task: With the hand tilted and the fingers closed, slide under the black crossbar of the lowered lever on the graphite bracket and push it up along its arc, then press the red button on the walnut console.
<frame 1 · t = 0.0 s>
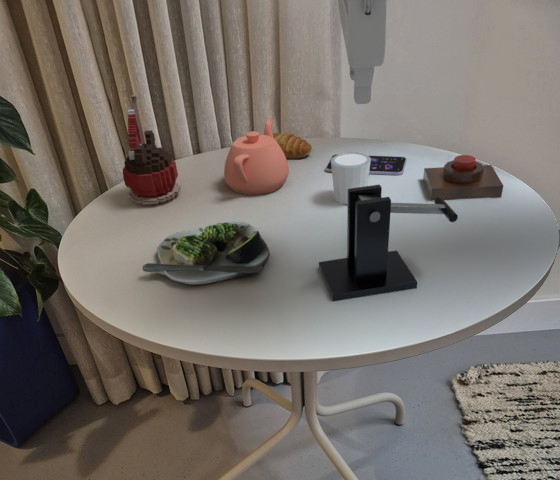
hand: (359, 89, 68), 25 cm above the table, tool pointing down, fingers open, 8 cm apart
white cup: (350, 198, 103), on the table
console: (460, 188, 103), on the table
button: (464, 163, 100), point 4 cm above the table, slide at 0.1 cm
salad plate: (217, 260, 90), on the table
pastry: (288, 154, 121), on the table
teapot: (259, 182, 111), on the table
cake: (156, 197, 109), on the table
smartphone: (366, 166, 113), on the table
lever: (404, 208, 77), point 10 cm above the table, hinge at -10.0°
bracket: (366, 278, 83), on the table
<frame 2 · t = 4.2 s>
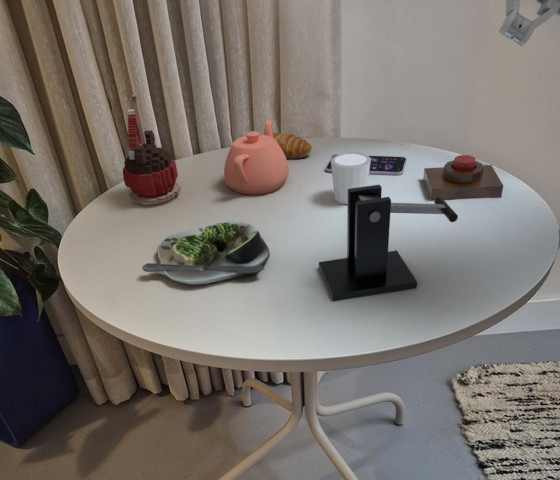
hand: (512, 37, 59), 30 cm above the table, tool tilted 40°, fingers closed
nothing on the table moved.
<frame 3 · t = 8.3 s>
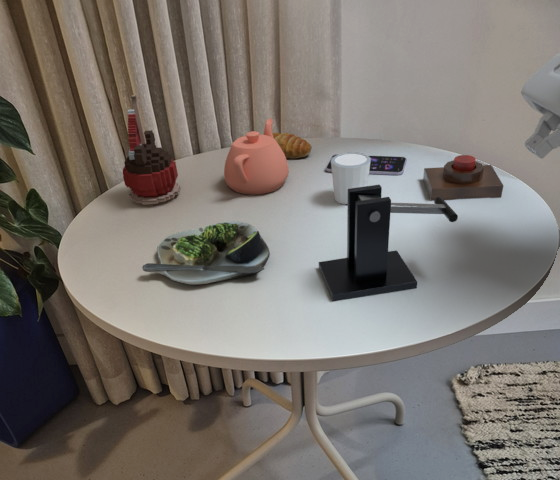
hand: (532, 151, 74), 15 cm above the table, tool tilted 45°, fingers closed
nothing on the table moved.
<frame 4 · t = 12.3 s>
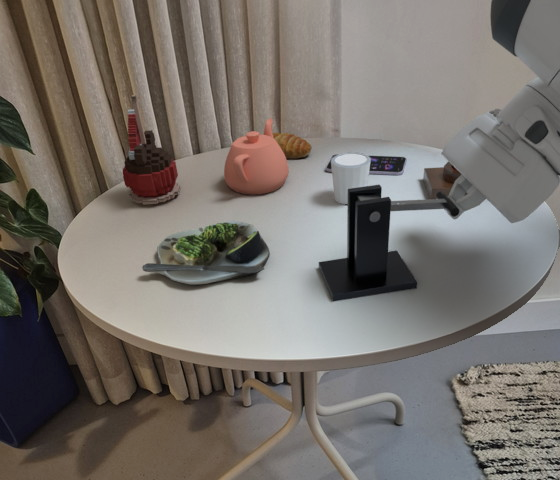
hand: (447, 212, 79), 8 cm above the table, tool tilted 45°, fingers closed, pressing on lever
lever: (405, 205, 76), point 10 cm above the table, hinge at -5.8°, touching gripper
everything else where it was.
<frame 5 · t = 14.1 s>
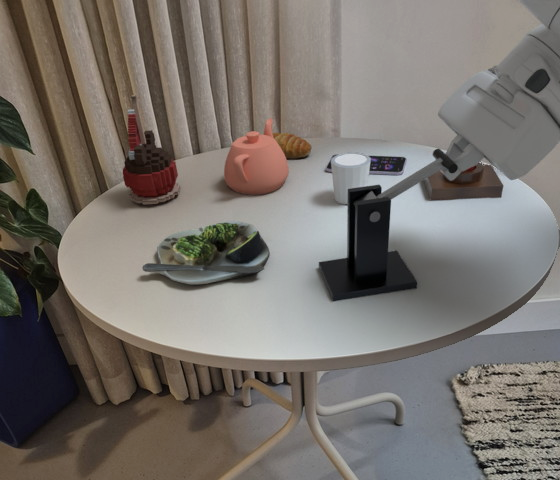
hand: (443, 173, 75), 14 cm above the table, tool tilted 45°, fingers closed, pressing on lever
lever: (403, 186, 74), point 13 cm above the table, hinge at 26.1°, touching gripper
everything else where it was.
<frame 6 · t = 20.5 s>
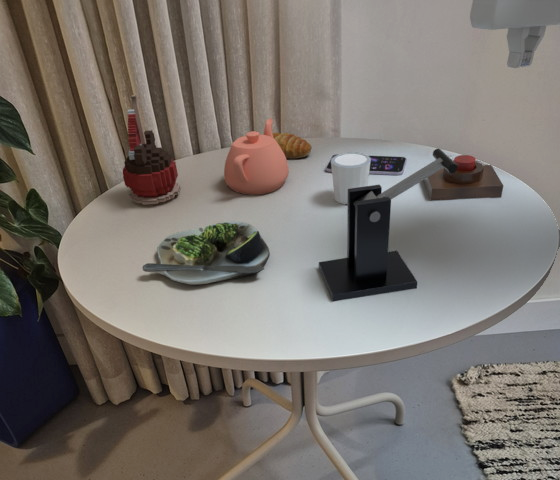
hand: (518, 66, 75), 24 cm above the table, tool pointing down, fingers closed
lever: (403, 186, 74), point 13 cm above the table, hinge at 26.1°
everything else where it was.
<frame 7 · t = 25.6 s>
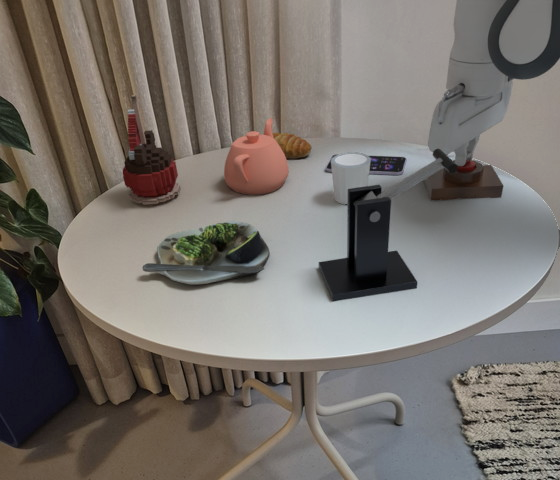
hand: (463, 163, 100), 5 cm above the table, tool pointing down, fingers closed, pressing on button
button: (463, 168, 100), point 4 cm above the table, slide at -0.7 cm, touching gripper
everything else where it was.
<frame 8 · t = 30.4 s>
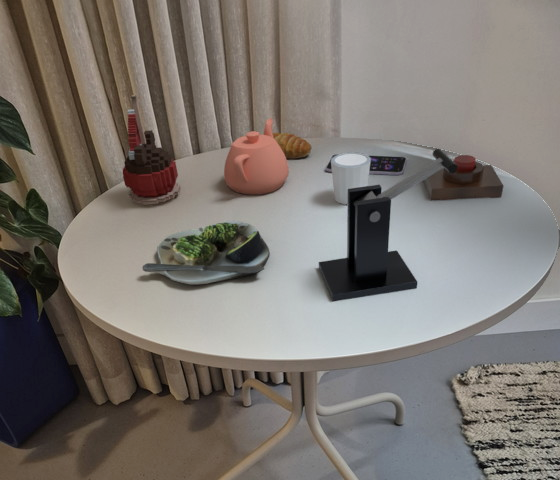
button: (464, 163, 100), point 4 cm above the table, slide at 0.1 cm
everything else where it was.
at the end: lever at +26° (first picture: -10°); button pushed in 1.1 cm at the most during the clip, back to where it started at the end; button slide at 0.1 cm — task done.
